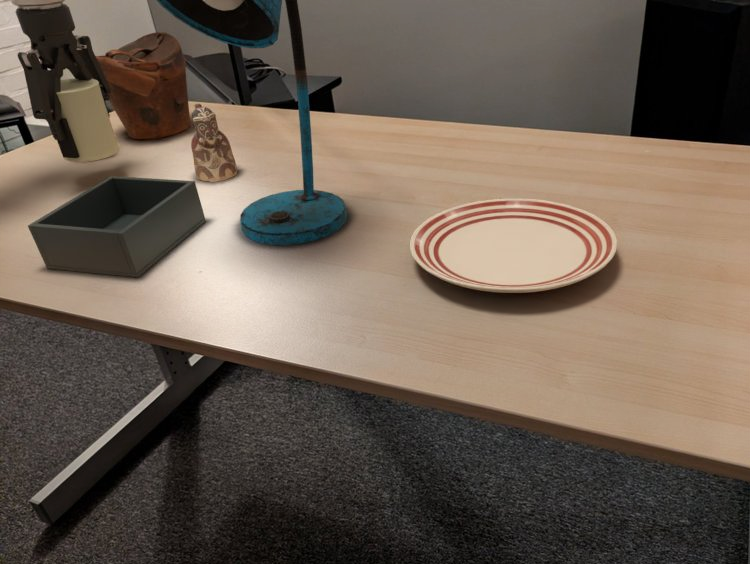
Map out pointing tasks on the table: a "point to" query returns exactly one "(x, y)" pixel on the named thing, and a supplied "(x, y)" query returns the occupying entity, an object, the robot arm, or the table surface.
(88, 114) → the can
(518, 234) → the dinner plate
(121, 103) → the case
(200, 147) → the figurine
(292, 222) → the desk lamp
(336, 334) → the table surface
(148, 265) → the bus tub
